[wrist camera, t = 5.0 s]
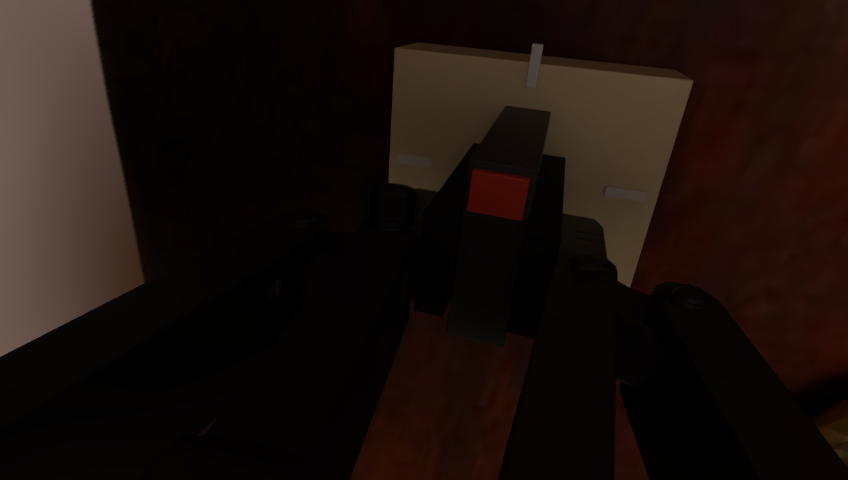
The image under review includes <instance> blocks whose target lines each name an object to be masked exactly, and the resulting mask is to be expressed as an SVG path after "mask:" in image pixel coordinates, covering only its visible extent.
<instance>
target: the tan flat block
mask: <svg viewBox="0 0 848 480" xmlns="http://www.w3.org/2000/svg"><path fill="white" fill-rule="evenodd" d="M542 51H543V44H534V43H533V44H532V49H531V54H523V53H514V52H504V51H495V50H485V49H476V48H467V47H457V46H448V45H439V44H429V43H420V42H418V43H413V44H409V45H405V46H401V47H396V48H395V52H394V73H393V94H392V116H391V137H390V158H389V180H388V183H395V184H402V185H406V186H410V187H412V188H414V189H417V188H421V189H426V190H432V191H437V192H438V191H439V190H440V189H441V187H442V186H443V184H444V183H445V182H446V180H447V179H448V178H449V176H450V175H451V173H452V172H453V171H454V169H455V168H456V167H457V165H458V164H459V162H460V161H461V160H462V158H463V157H464V156H465V154H466V153H467V151H468V150H469V149H470V147H471V146H472V145H473V143H477V144H480V143H481V141H482V140H483V138H484V137H485V135H486V134H487V132H488V131H489V129H490V128H491V126H492V125H493V123H494V122H495V121H496V119H497V118H498V116H499V115H500V113H501V112H502V110H503V109H504V107H505V106H513V107H521V108H528V109H535V110H542V111H549V112H551V115H550V120H549V125H548V130H547V135H546V140H545V145H544V150H543V154H545V155H552V156H558V157H564V158H566V161H565V180H564V199H563V213H565V214H570V215H575V216H581V217H586V218H592V219H595V220H596V221H597V222H598V223H599V224H600V225H601V226H602V227H603V230H604V237H605V245H606V252H607V259H608V260H610V261H611V262H612V263H613V264H614V265H615V266H616V268H617V271H618V281H619V282H621V283H622V284H624V285H626V286H628V287H630V286H631V282H632V279H633V276H634V273H635V269H636V266H637V263H638V260H639V256H640V253H641V250H642V247H643V243H644V240H645V237H646V234H647V230H648V227H649V224H650V221H651V217H652V214H653V211H654V208H655V204H656V201H657V198H658V195H659V191H660V188H661V185H662V182H663V178H664V175H665V172H666V169H667V165H668V162H669V159H670V156H671V152H672V149H673V146H674V143H675V139H676V136H677V133H678V130H679V126H680V123H681V120H682V117H683V113H684V110H685V107H686V104H687V100H688V97H689V94H690V91H691V87H692V84H693V80H691V79H689V78H688V77H686V76H685V75H683V74H681V73H680V72H678V71H677V70H673V69H664V68H654V67H645V66H635V65H626V64H617V63H607V62H598V61H589V60H579V59H570V58H560V57H551V56H542Z"/></svg>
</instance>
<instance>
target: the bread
mask: <svg viewBox="0 0 848 480" xmlns="http://www.w3.org/2000/svg"><path fill="white" fill-rule="evenodd" d="M810 419H811V421H812V422H813V423H814V424H815V426H816V427H817V428H818V430H819V431H820V432H821V434H822V435H823V436H824V437H825V439H826V440H827V441H828V443H829V444H830V445H831V446H832V448H833V449H834V450H835V452H836V453H837V454H838V456H839V457H840V458H841V459H842V461H843V462H844V463H845V465H846V466H847V467H848V399H846V400H842V401H840V402H837V403H836V404H834V405H832V406H830V407H829V408H827V409H825V410H824V411H822V412H820V413H819V414H817V415H815V416H814V417H812V418H810Z"/></svg>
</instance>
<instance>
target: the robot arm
mask: <svg viewBox="0 0 848 480" xmlns="http://www.w3.org/2000/svg"><path fill="white" fill-rule="evenodd" d="M478 145H479V144H477V143H473V145H472V146H471V147H470V149H469V150H468V151H467V153H466V154H465V156H464V157H463V158H462V160H461V161H460V162H459V164H458V165H457V167H456V168H455V169H454V171H453V172H452V173H451V175H450V176H449V178H448V179H447V180H446V182H445V183H444V184H443V186H442V187H441V189H440V190H439V191H438V192H437V191H432V190H426V189H421V188H417V189H414V188H412V187H410V186H406V185H402V184H395V183H379V184H375V185H371V186H369V187H367V188H366V189H365V205H364V221H363V223H362V224H361V225H360V227H359V228H358V229H357V231H356V232H337V231H329V218H328V217H327V216H326V215H323V214H321V213H319V212H314V211H311V210H307V209H304V210H303V209H297V210H295V211H289V212H285V213H282V214H279V215H277V216H275V217H273V218H271V219H269V220H267V221H266V222H264V223H262V224H260V225H258V226H256V227H254V228H252V229H250V230H248V231H246V232H244V233H242V234H240V235H238V236H236V237H234V238H232V239H230V240H228V241H226V242H224V243H222V244H221V245H219V246H217V247H215V248H213V249H211V250H209V251H207V252H205V253H203V254H201V255H199V256H197V257H195V258H193V259H191V260H189V261H187V262H185V263H183V264H181V265H179V266H177V267H175V268H174V269H172V270H170V271H168V272H166V273H164V274H162V275H160V276H158V277H156V278H154V279H152V280H150V281H148V282H146V283H144V284H142V285H140V286H138V287H137V288H135V289H133V290H131V291H129V292H127V293H125V294H123V295H121V296H119V297H117V298H115V299H113V300H111V301H109V302H107V303H105V304H103V305H101V306H99V307H97V308H95V309H94V310H91V311H89V312H88V313H85V314H84V315H82V316H80V317H78V318H76V319H74V320H72V321H70V322H68V323H66V324H64V325H62V326H60V327H58V328H56V329H54V330H52V331H50V332H48V333H46V334H45V335H43V336H41V337H38V338H37V339H35V340H33V341H31V342H29V343H27V344H25V345H23V346H21V347H19V348H17V349H15V350H13V351H11V352H9V353H7V354H5V355H3V356H1V357H0V480H350V477H351V474H352V472H353V469H354V466H355V464H356V461H357V458H358V455H359V453H360V450H361V447H362V445H363V442H364V439H365V436H366V434H367V431H368V428H369V426H370V423H371V420H372V417H373V415H374V412H375V409H376V407H377V404H378V401H379V399H380V396H381V393H382V390H383V388H384V385H385V382H386V380H387V377H388V374H389V371H390V369H391V366H392V363H393V361H394V358H395V355H396V352H397V350H398V347H399V344H400V342H401V339H402V336H403V333H404V331H405V328H406V325H407V323H408V320H409V311H410V302H411V300H412V299H413V297H414V295H415V304H414V310H416V311H420V312H424V313H428V314H433V315H437V316H441V317H443V315H444V313H445V310H446V308H447V305H448V303H449V301H450V298H451V292H452V284H453V277H454V270H455V262H456V255H457V247H458V240H459V232H460V225H461V218H462V210H463V200H464V193H465V185H466V178H467V170H468V162H469V159H470V157H471V156H472V154H473V153H474V151H475V150H476V148H477V147H478ZM565 161H566V158H564V157H558V156H552V155H545V154H543V155H542V160H541V165H540V170H539V174H538V179H537V184H536V189H535V193H534V198H533V203H532V208H531V213H530V217H529V222H528V227H527V232H526V237H525V242H524V246H523V251H522V256H521V261H520V266H519V271H518V276H517V281H516V286H515V291H514V296H513V300H512V305H511V310H510V315H509V320H508V325H507V330H506V332H509V333H514V334H518V335H522V336H526V337H531V338H535V341H534V345H533V349H532V353H531V356H530V360H529V364H528V368H527V372H526V375H525V379H524V383H523V387H522V390H521V394H520V398H519V402H518V405H517V409H516V413H515V417H514V420H513V424H512V428H511V432H510V436H509V439H508V443H507V447H506V451H505V454H504V458H503V462H502V466H501V469H500V473H499V477H498V480H614V456H615V399H616V380H618V381H620V382H621V383H620V394H621V397H622V400H623V403H624V406H625V409H626V412H627V415H628V418H629V421H630V424H631V427H632V429H633V432H634V435H635V438H636V441H637V444H638V447H639V450H640V453H641V456H642V459H643V462H644V465H645V468H646V471H647V473H648V476H649V479H650V480H848V467H847V466H846V465H845V463H844V462H843V461H842V459H841V458H840V457H839V456H838V454H837V453H836V452H835V450H834V449H833V448H832V446H831V445H830V444H829V443H828V441H827V440H826V439H825V437H824V436H823V435H822V434H821V432H820V431H819V430H818V428H817V427H816V426H815V424H814V423H813V422H812V421H811V419H810V418H809V417H808V415H807V414H806V413H805V411H804V410H803V409H802V408H801V406H800V405H799V404H798V402H797V401H796V400H795V398H794V397H793V396H792V395H791V393H790V392H789V391H788V389H787V388H786V387H785V386H784V384H783V383H782V382H781V380H780V379H779V378H778V376H777V375H776V374H775V373H774V371H773V370H772V369H771V367H770V366H769V365H768V363H767V362H766V361H765V360H764V358H763V357H762V356H761V354H760V353H759V352H758V350H757V349H756V348H755V347H754V345H753V344H752V343H751V341H750V340H749V339H748V338H747V336H746V335H745V334H744V332H743V331H742V330H741V328H740V327H739V326H738V325H737V323H736V322H735V321H734V319H733V318H732V317H731V315H730V314H729V313H728V312H727V310H726V309H725V308H724V306H723V305H722V304H721V303H720V302H719V301H718V300H717V299H716V298H715V297H713V296H711V295H710V294H708V293H706V292H705V291H704V290H702V289H700V288H698V287H696V288H695V287H694V286H692V285H689V284H680V283H669V282H665V283H661V284H658V285H657V286H656V287H655V288H654V289H653V292H652V295H651V296H650V295H648V294H645V293H642V292H640V291H637V290H635V289H632V288H630V287H628V286H626V285H624V284H622V283H621V282H619V281H618V271H617V268H616V266H615V265H614V264H613V263H612V262H611V261H610V260H608V259H607V252H606V245H605V237H604V230H603V227H602V226H601V225H600V224H599V223H598V222H597V221H596V220H595V219H592V218H586V217H581V216H575V215H570V214H565V213H563V199H564V180H565ZM275 281H276V295H274V296H273V297H272V298H270V299H268V297H267V293H268V291H269V289H270V287H271V285H272V284H273V283H274V282H275ZM415 293H416V294H415ZM220 414H221V415H220ZM219 415H220V416H219ZM218 416H219V417H218ZM217 417H218V419H217V420H216V421H215V423H214V424H213V425H212V427H211V428H210V429H209V430H208V431H207V432H206V433H205V434H204V435H202V436H198V434H199V433H200V432H201V431H202V430H203V429H205V428H206V427H207V426H208V425H209V424H210V423H211V422H212V421H214V420H215V419H216V418H217Z"/></svg>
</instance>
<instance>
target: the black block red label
mask: <svg viewBox="0 0 848 480" xmlns="http://www.w3.org/2000/svg"><path fill="white" fill-rule="evenodd" d="M550 115H551V112H549V111H542V110H535V109H528V108H521V107H513V106H505V107H504V109H503V110H502V112H501V113H500V115H499V116H498V118H497V119H496V121H495V122H494V123H493V125H492V126H491V128H490V129H489V131H488V132H487V134H486V135H485V137H484V138H483V140H482V141H481V143H480V144H479V145H478V147H477V148H476V150H475V151H474V153H473V154H472V156H471V157H470V159H469V162H468V170H467V178H466V185H465V193H464V200H463V210H462V218H461V225H460V232H459V240H458V247H457V255H456V262H455V270H454V277H453V284H452V292H451V300H450V307H449V315H448V322H447V330H446V332H447V334H451V335H455V336H459V337H464V338H468V339H472V340H476V341H481V342H485V343H489V344H493V345H497V346H502V347H503V346H504V343H505V338H506V333H507V332H506V330H507V325H508V320H509V315H510V310H511V305H512V300H513V296H514V291H515V286H516V281H517V276H518V271H519V266H520V261H521V256H522V251H523V246H524V242H525V237H526V232H527V227H528V222H529V217H530V213H531V208H532V203H533V198H534V193H535V189H536V184H537V179H538V174H539V170H540V165H541V160H542V155H543V150H544V145H545V140H546V135H547V130H548V125H549V120H550Z"/></svg>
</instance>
